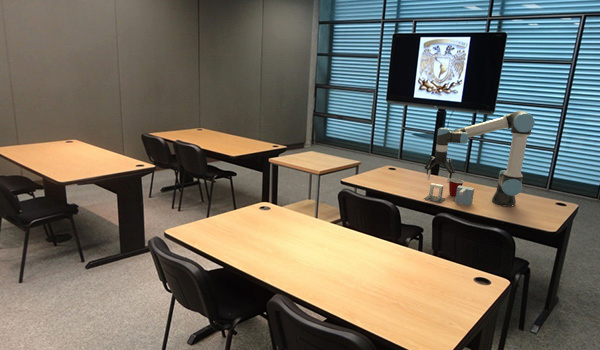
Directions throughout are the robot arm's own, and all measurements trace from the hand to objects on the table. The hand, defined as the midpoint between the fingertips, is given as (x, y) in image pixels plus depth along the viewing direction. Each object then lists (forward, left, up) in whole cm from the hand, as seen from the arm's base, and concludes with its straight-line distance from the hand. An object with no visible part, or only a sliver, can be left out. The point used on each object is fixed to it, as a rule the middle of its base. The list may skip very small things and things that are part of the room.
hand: (438, 181), depth 298 cm
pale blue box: (0, 0, -13) cm, 13 cm away
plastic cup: (-7, -19, -14) cm, 24 cm away
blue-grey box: (-17, -1, -13) cm, 22 cm away
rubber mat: (+1, 0, -13) cm, 13 cm away
